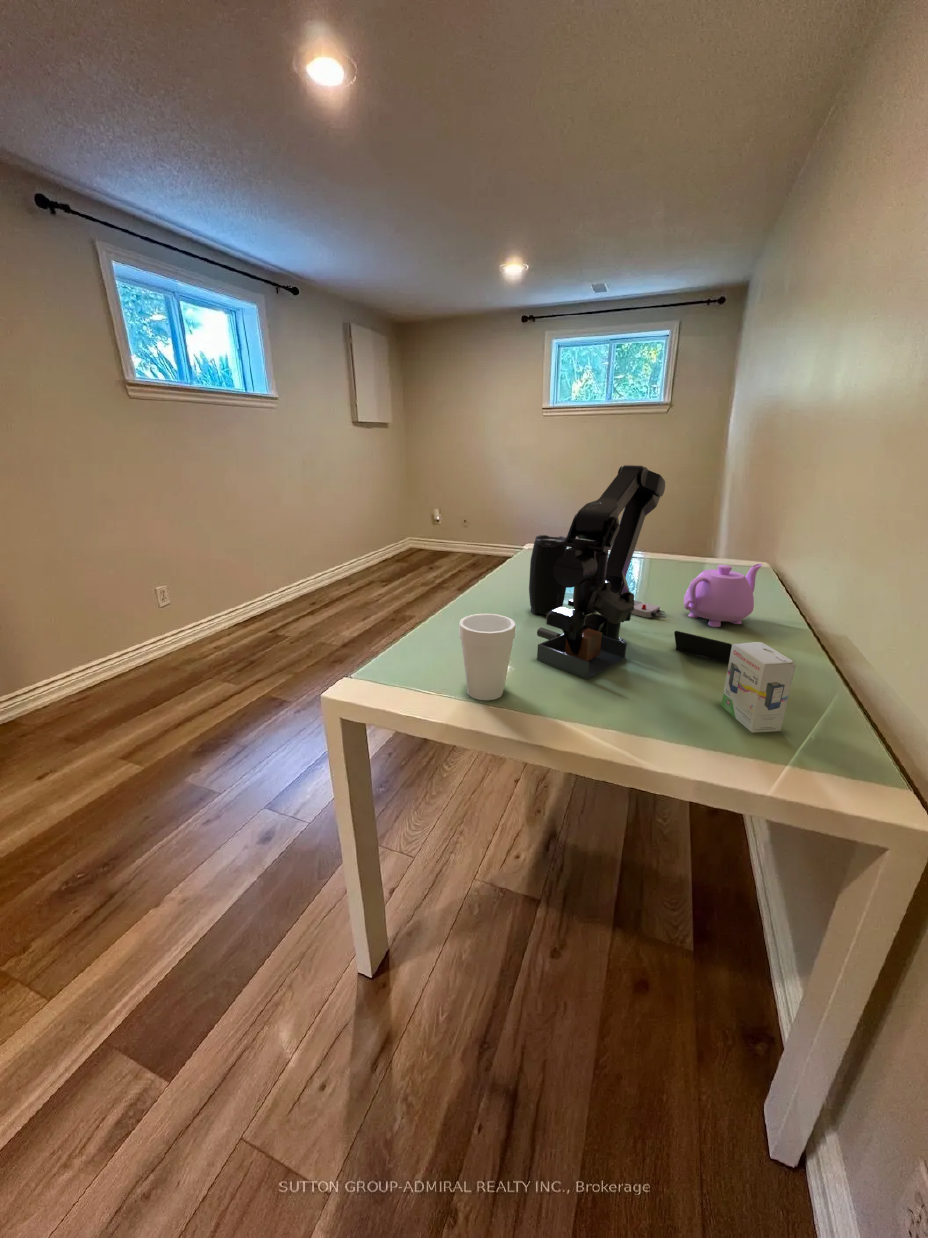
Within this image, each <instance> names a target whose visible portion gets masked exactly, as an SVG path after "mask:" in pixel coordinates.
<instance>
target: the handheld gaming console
mask: <svg viewBox="0 0 928 1238" xmlns="http://www.w3.org/2000/svg"><path fill="white" fill-rule="evenodd" d="M673 634H674V643H675V651H678V652H681V653H685V654H689V655H694V656H698V657H701V658H704V659H705V658H706V659H709V660H711V661H712V660H713V661H716V662H720V663H724V664H727V665H729V659H730V654H731V648H732V644H733V643H730V642H725V641H721V640H717V639H713V638H709V637H705V636H700V635H696V634H692V633H687V632H684V631H681V630H674V632H673Z"/></svg>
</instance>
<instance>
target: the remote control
mask: <svg viewBox="0 0 928 1238" xmlns="http://www.w3.org/2000/svg"><path fill="white" fill-rule="evenodd" d="M660 608H661V606H660V605H655V604H651V603H647V602H643V601H639V600H635V599H634V610H633V611H632V614H631V615H634V616H638V617H642V618H646V619H649V618H653V617H659V618H664V619H665V618H667V616H665V615H663V614H662V613H666V611H665V610H661V609H660Z"/></svg>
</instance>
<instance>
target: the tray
mask: <svg viewBox="0 0 928 1238" xmlns="http://www.w3.org/2000/svg"><path fill="white" fill-rule="evenodd" d="M536 635H537V637H540V638H542V639H545V641H543V642H540V643H538V644H537V652H536V653H537V654H536V660H537V661H539V662H541V663H544V664H547V665H549V666H552V667H554V668H556V669H559V670H562V671H564V672H566V673H568V674H572V675H574V676H576V677H579V678H581V679H584V680H586V681H589V680H590V679H592V678H594V677H596V676H597V675H599V674H601V673H603V672H605V671H606V670H608V669H610V668H612V667H614V666H615V665H618V664H620V663H621V662H623V661H625V660H626V659H627V656H626V653H627V647H628V643H627V642H626V641H625V642H622V641H619V640H615V639H612V638H609V637H606V636H603V635H602V639H601V648H600V655H599V656H597V657H595V658H593V659H591V660H589V661H585V660H582V659H579V658H577V657H574V656H571V655H568V654H566V653H565V649H566V637H565V635H564V633H562V634H561V633H559V632H556V631H553V630H551V629H547V628H545V627H539V628H538V629H537V631H536Z"/></svg>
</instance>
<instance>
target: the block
mask: <svg viewBox="0 0 928 1238" xmlns="http://www.w3.org/2000/svg"><path fill="white" fill-rule="evenodd" d="M601 639H602V632H599V631H596V630H592V629H589V628H588V629H587V630H585V631H584V632H583V635H582V640H581V645H580V649H579V653H578V655H575V654H573V653H572V651H571V649H570V646H569V644H568V641H567V639H566V649H565V653H566V654H568V655H571V656H574V657H577V658H579V659H582V660H585V661H589V660H591V659H593V658H595V657H597V656H599V655H600V648H601Z"/></svg>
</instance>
